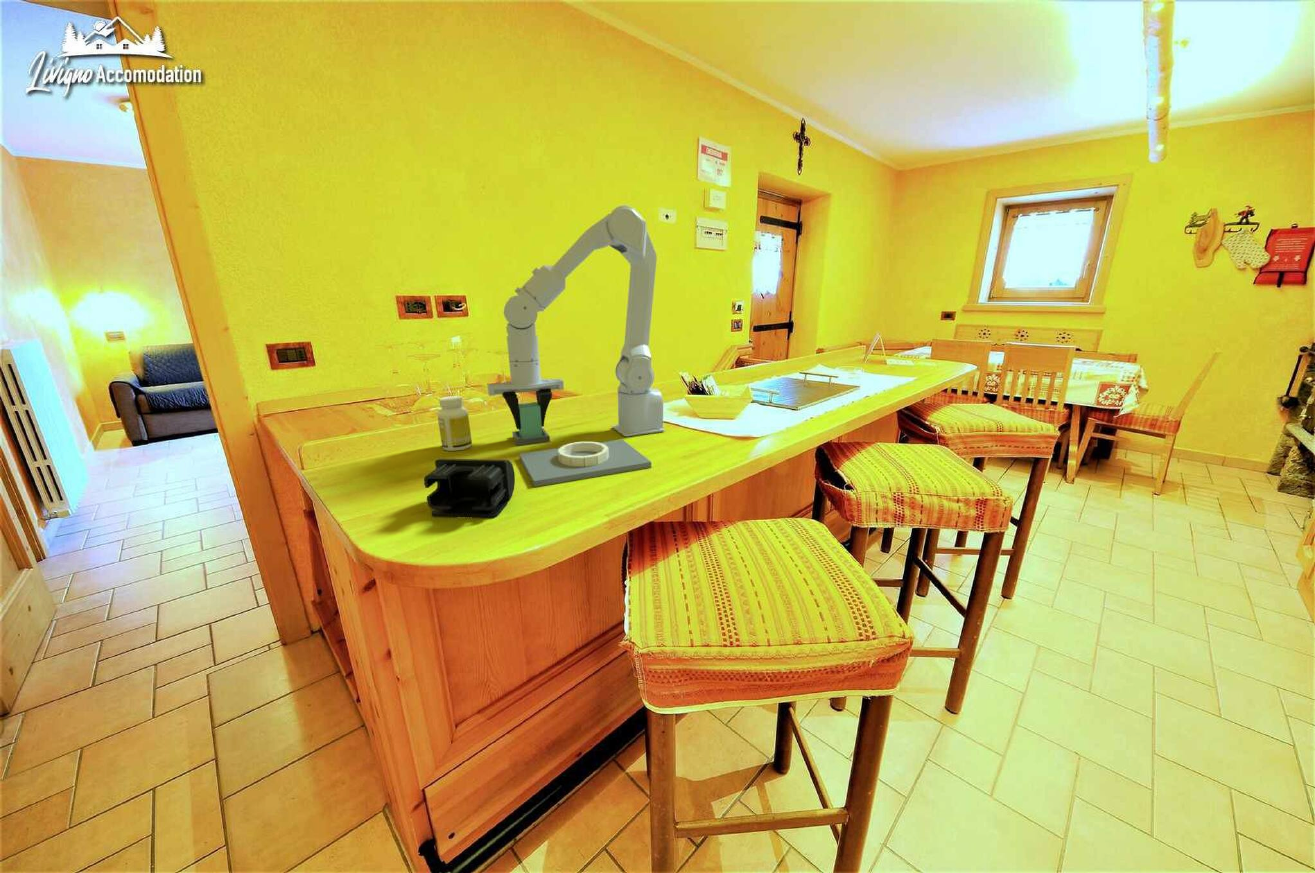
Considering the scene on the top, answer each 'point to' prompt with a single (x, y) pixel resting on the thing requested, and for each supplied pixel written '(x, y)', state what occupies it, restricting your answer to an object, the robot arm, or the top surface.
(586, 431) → the top surface
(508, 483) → the end cap
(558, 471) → the socket board
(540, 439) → the dark grey square frame
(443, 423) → the supplement bottle
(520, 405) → the plug
